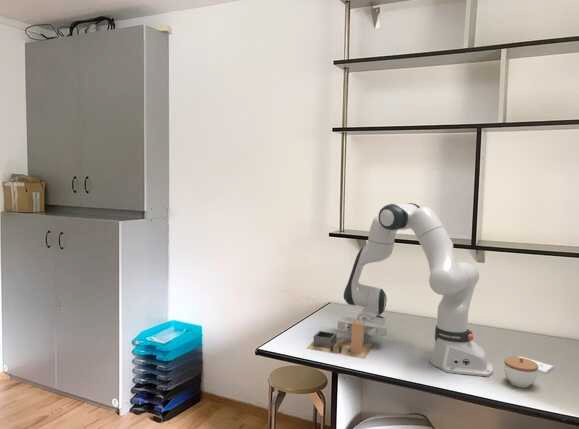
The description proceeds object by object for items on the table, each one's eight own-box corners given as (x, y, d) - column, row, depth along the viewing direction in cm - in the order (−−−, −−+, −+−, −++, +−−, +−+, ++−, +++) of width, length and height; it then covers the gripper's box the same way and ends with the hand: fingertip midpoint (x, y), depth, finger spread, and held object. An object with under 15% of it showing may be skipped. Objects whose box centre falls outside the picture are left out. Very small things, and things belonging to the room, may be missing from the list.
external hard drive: (519, 359, 194) (553, 369, 185) (511, 365, 188) (546, 375, 180) (520, 355, 194) (553, 365, 185) (512, 361, 188) (546, 371, 179)
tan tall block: (362, 350, 195) (364, 316, 193) (360, 354, 191) (362, 319, 190) (353, 349, 196) (354, 315, 195) (350, 352, 192) (352, 318, 191)
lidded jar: (540, 384, 170) (542, 358, 170) (530, 393, 163) (532, 366, 162) (509, 374, 178) (511, 350, 177) (498, 383, 170) (500, 357, 169)
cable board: (373, 346, 202) (374, 338, 202) (364, 361, 186) (364, 352, 186) (319, 337, 211) (319, 330, 211) (305, 350, 195) (306, 342, 195)
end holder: (336, 342, 203) (336, 333, 202) (331, 348, 196) (331, 339, 195) (319, 339, 205) (319, 330, 205) (313, 345, 198) (313, 336, 198)
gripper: (342, 311, 209) (333, 320, 197) (389, 318, 202) (383, 327, 189) (341, 325, 210) (332, 335, 197) (389, 332, 203) (382, 343, 190)
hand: (358, 331), depth 193 cm, fingers open, 8 cm apart
